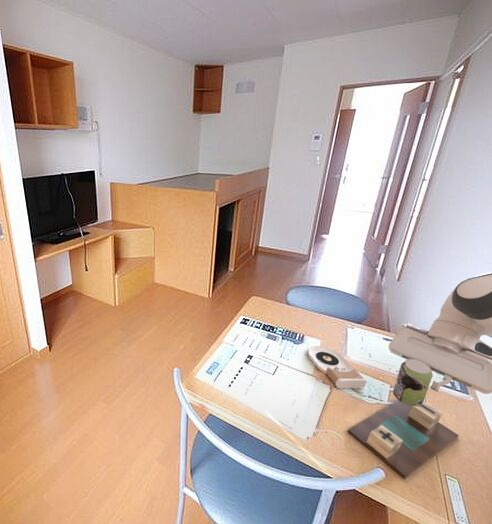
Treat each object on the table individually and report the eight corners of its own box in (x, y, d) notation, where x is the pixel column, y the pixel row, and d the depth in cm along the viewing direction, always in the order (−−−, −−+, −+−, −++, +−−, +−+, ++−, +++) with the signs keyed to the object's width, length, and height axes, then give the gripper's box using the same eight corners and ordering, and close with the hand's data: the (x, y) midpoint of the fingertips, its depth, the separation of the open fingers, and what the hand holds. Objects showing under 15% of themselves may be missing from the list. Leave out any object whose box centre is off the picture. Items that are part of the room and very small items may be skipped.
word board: (400, 400, 95) (405, 388, 93) (457, 437, 84) (465, 424, 82) (347, 431, 85) (352, 418, 83) (404, 479, 73) (411, 465, 71)
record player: (335, 380, 99) (303, 342, 117) (332, 388, 100) (302, 349, 118) (370, 380, 99) (333, 342, 117) (367, 387, 100) (331, 349, 119)
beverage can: (405, 389, 84) (409, 351, 81) (435, 408, 77) (441, 367, 74) (386, 395, 83) (389, 357, 80) (414, 414, 76) (420, 373, 73)
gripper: (401, 317, 84) (377, 359, 83) (511, 357, 69) (484, 410, 67) (401, 325, 88) (378, 365, 87) (505, 364, 73) (479, 414, 72)
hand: (425, 385), depth 77 cm, fingers closed on beverage can
